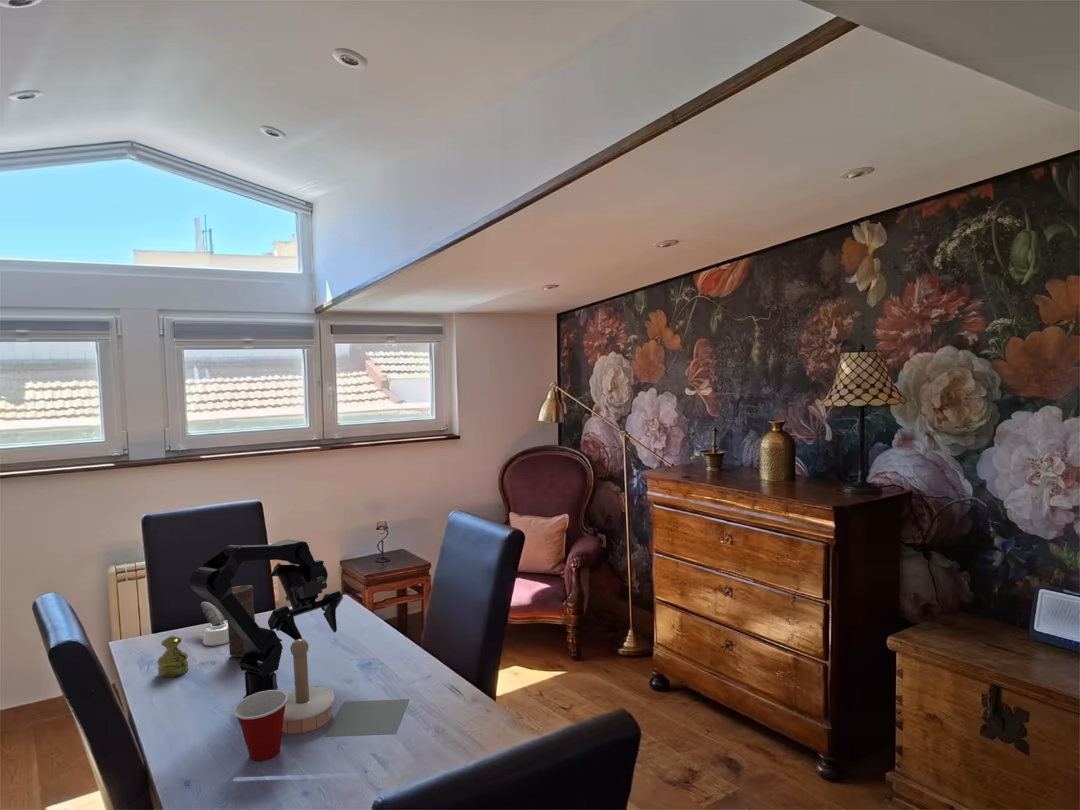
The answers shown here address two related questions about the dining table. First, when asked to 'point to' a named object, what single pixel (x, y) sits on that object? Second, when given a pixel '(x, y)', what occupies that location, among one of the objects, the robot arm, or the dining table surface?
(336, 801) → the dining table surface
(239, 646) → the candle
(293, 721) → the bowl
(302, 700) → the peg stand
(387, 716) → the mat
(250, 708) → the plastic cup
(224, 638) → the inkwell
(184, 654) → the olive green figurine
